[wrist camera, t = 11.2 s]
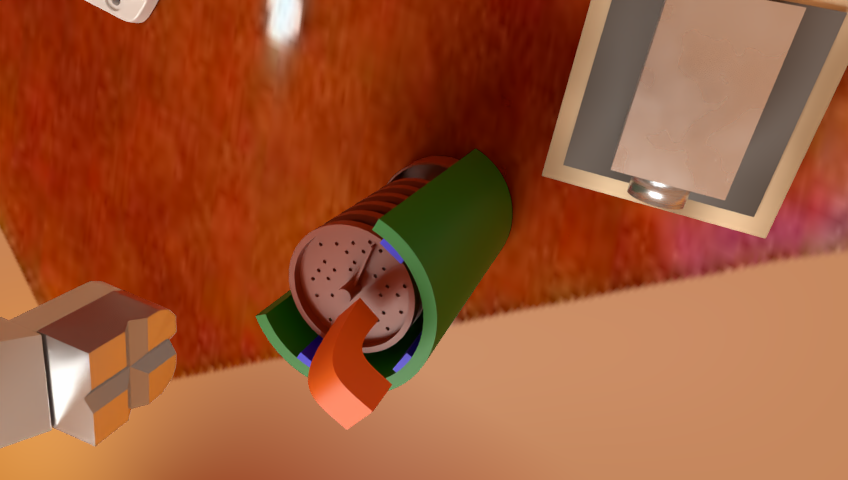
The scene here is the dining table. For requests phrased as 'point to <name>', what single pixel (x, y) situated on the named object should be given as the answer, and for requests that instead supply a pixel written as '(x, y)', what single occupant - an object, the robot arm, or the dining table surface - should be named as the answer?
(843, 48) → the stand
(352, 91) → the dining table surface
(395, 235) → the motor
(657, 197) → the block
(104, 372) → the robot arm
